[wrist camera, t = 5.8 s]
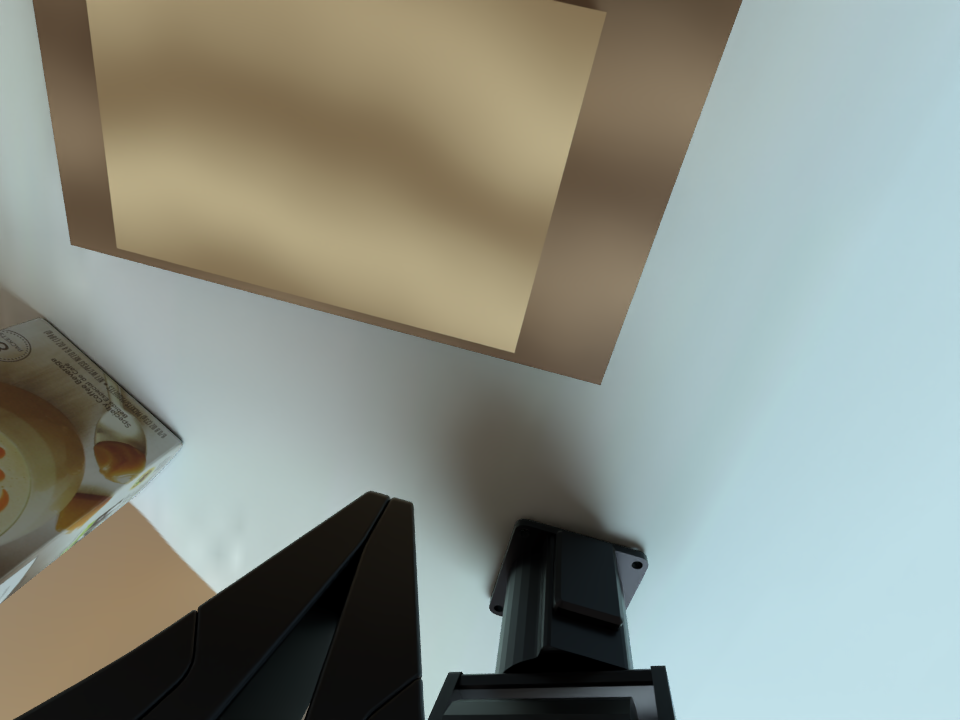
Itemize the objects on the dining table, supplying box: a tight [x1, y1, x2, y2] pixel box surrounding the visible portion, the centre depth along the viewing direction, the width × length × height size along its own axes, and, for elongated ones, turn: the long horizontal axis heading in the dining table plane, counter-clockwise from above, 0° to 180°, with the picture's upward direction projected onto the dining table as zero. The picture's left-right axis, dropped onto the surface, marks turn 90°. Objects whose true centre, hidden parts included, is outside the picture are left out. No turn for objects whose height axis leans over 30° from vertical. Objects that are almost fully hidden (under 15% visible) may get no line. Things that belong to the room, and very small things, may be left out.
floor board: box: [33, 0, 742, 385], centre depth 16 cm, size 16×22×3 cm
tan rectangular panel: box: [86, 0, 607, 353], centre depth 16 cm, size 10×15×2 cm, turn 78°
